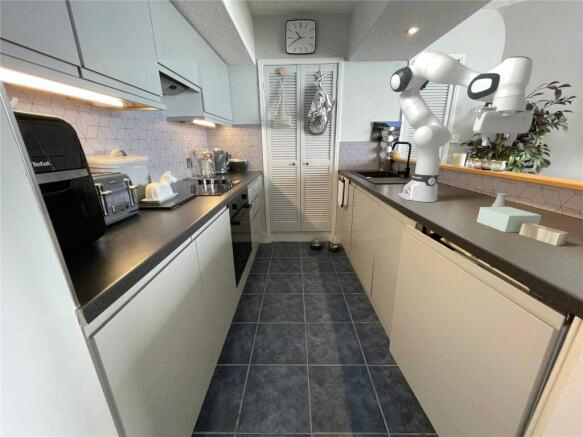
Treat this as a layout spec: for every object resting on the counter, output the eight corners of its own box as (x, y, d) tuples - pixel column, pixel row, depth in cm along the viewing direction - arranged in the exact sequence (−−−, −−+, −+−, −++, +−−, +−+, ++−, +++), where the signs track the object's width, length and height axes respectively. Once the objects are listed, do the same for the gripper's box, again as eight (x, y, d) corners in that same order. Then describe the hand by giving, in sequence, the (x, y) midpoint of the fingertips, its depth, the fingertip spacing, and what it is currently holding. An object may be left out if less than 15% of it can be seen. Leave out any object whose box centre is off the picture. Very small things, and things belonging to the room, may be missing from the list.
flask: (507, 219, 97) (514, 196, 94) (485, 216, 101) (491, 193, 98) (506, 215, 102) (512, 193, 99) (485, 212, 107) (490, 191, 104)
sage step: (476, 221, 94) (480, 207, 92) (504, 221, 95) (508, 206, 93) (504, 232, 83) (509, 215, 81) (536, 231, 83) (541, 215, 82)
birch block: (518, 234, 81) (555, 246, 72) (522, 223, 80) (559, 234, 71) (527, 233, 82) (564, 245, 73) (530, 222, 81) (569, 233, 71)
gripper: (487, 105, 84) (478, 145, 88) (540, 106, 85) (528, 145, 89) (473, 107, 90) (465, 145, 94) (522, 108, 91) (512, 145, 95)
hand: (496, 145), depth 91 cm, fingers open, 8 cm apart
